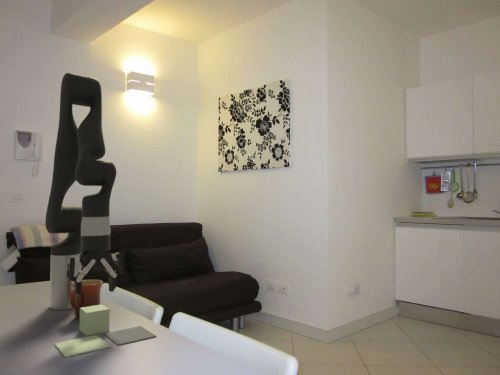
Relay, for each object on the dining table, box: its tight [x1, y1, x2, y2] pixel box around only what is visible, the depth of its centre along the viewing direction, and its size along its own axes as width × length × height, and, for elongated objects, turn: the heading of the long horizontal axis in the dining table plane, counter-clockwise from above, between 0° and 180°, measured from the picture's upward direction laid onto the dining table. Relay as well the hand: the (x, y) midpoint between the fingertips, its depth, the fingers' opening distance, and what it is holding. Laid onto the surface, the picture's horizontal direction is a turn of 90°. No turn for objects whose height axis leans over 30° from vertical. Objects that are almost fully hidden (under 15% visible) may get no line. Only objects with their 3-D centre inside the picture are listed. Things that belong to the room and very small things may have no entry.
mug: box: [70, 279, 104, 320], centre depth 121 cm, size 12×9×10 cm
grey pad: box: [103, 325, 157, 346], centre depth 106 cm, size 10×10×1 cm
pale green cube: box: [79, 303, 111, 337], centre depth 110 cm, size 6×6×6 cm
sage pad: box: [54, 334, 111, 358], centre depth 98 cm, size 10×10×1 cm
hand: (95, 293), depth 110 cm, fingers open, 8 cm apart
